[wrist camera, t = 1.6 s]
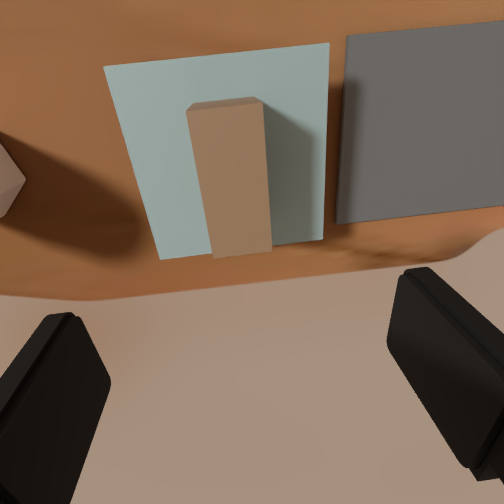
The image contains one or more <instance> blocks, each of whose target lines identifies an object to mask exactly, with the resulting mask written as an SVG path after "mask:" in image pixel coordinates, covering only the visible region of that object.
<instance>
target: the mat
mask: <svg viewBox="0 0 504 504" xmlns="http://www.w3.org/2000/svg"><path fill="white" fill-rule="evenodd" d="M500 205H504V21H495V22H484V23H473V24H463V25H452V26H442V27H431V28H421V29H410V30H399V31H389V32H378V33H368V34H357V35H349V36H347V38H346V54H345V70H344V85H343V101H342V116H341V132H340V148H339V163H338V179H337V194H336V210H335V223H336V225H338V224H346V223H355V222H364V221H372V220H381V219H389V218H398V217H406V216H415V215H423V214H432V213H440V212H449V211H458V210H466V209H475V208H483V207H492V206H500Z"/></svg>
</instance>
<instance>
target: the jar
mask: <svg viewBox="0 0 504 504" xmlns="http://www.w3.org/2000/svg"><path fill="white" fill-rule="evenodd" d="M25 181H26V178H25V176H24V175H23V174H22V172H21V171H20V170H19V168H18V167H17V165H16V164H15V163H14V161H13V160H12V159H11V157H10V156H9V154H8V153H7V152H6V150H5V149H4V147H3V146H2V145H1V143H0V218H1V217H3V216H4V215H5V214H6V213H7V211H8V209H9V208H10V206H11V204H12V203H13V201H14V199H15V198H16V196H17V194H18V193H19V191H20V189H21V188H22V186H23V184H24V183H25Z"/></svg>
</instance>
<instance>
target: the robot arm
mask: <svg viewBox="0 0 504 504" xmlns="http://www.w3.org/2000/svg"><path fill="white" fill-rule="evenodd" d="M387 346H388V349H389V351H390V353H391V355H392V356H393V358H394V359H395V361H396V362H397V364H398V366H399V367H400V369H401V370H402V372H403V374H404V375H405V377H406V378H407V380H408V382H409V383H410V385H411V386H412V388H413V390H414V391H415V393H416V394H417V396H418V398H419V399H420V401H421V402H422V404H423V405H424V407H425V409H426V410H427V412H428V413H429V415H430V417H431V418H432V420H433V421H434V423H435V424H436V426H437V428H438V429H439V431H440V433H441V434H442V436H443V437H444V439H445V441H446V442H447V444H448V445H449V447H450V448H451V450H452V452H453V453H454V455H455V456H456V458H457V459H458V461H459V462H460V463H461V465H462V466H464V467H465V468H469V469H470V471H471V472H472V474H473V475H474V477H475V478H476V480H477V481H483V480H490V479H497V478H500V480H501V481H502V482H503V484H504V334H503V333H502V332H501V331H500V330H499V329H498V328H496V327H495V326H494V325H493V324H492V323H491V322H490V321H489V320H488V319H486V318H485V317H484V316H483V315H482V314H481V313H480V312H479V311H477V310H476V309H475V308H474V307H473V306H472V305H471V304H469V303H468V302H467V301H466V300H465V299H464V298H463V297H462V296H461V295H459V294H458V293H457V292H456V291H455V290H454V289H453V288H452V287H450V286H449V285H448V284H447V283H446V282H445V281H444V280H443V279H442V278H440V277H439V276H438V275H437V274H436V273H435V272H434V271H433V270H432V269H430V268H429V267H420V268H412V269H407V270H405V271H404V274H403V275H400V277H399V279H398V283H397V288H396V294H395V299H394V304H393V309H392V314H391V319H390V324H389V329H388V335H387ZM110 386H111V380H110V376H109V374H108V372H107V370H106V368H105V366H104V364H103V362H102V360H101V358H100V356H99V354H98V352H97V350H96V348H95V346H94V344H93V342H92V340H91V338H90V335H89V333H88V332H87V330H86V328H85V325H84V324H83V321H82V320H81V318H80V317H78V316H75V315H74V314H73V313H72V312H66V313H59V314H50V315H47V316H46V317H45V318H44V319H43V320H42V322H41V323H40V325H39V326H38V327H37V329H36V330H35V331H34V333H33V334H32V335H31V337H30V338H29V340H28V341H27V342H26V344H25V345H24V347H23V348H22V349H21V350H20V352H19V353H18V355H17V356H16V357H15V359H14V360H13V362H12V363H11V364H10V366H9V367H8V368H7V370H6V371H5V372H4V374H3V375H2V376H1V378H0V504H70V502H71V499H72V497H73V494H74V491H75V488H76V485H77V482H78V479H79V477H80V474H81V471H82V468H83V465H84V462H85V459H86V457H87V454H88V451H89V448H90V445H91V442H92V440H93V437H94V434H95V431H96V428H97V425H98V422H99V419H100V416H101V414H102V411H103V408H104V405H105V402H106V400H107V397H108V394H109V391H110Z"/></svg>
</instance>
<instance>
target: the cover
mask: <svg viewBox="0 0 504 504" xmlns="http://www.w3.org/2000/svg"><path fill="white" fill-rule="evenodd" d="M329 47H330V43H321V44H312V45H302V46H293V47H283V48H274V49H264V50H255V51H245V52H236V53H226V54H217V55H207V56H198V57H188V58H179V59H169V60H160V61H150V62H141V63H131V64H122V65H112V66H103V68H104V72H105V75H106V78H107V82H108V85H109V88H110V92H111V95H112V99H113V102H114V105H115V109H116V112H117V115H118V119H119V122H120V126H121V129H122V132H123V136H124V139H125V142H126V146H127V149H128V153H129V156H130V159H131V163H132V166H133V170H134V173H135V176H136V180H137V183H138V186H139V190H140V193H141V197H142V200H143V203H144V207H145V210H146V213H147V217H148V220H149V224H150V227H151V230H152V234H153V237H154V240H155V244H156V247H157V251H158V254H159V257H160V260H162V259H170V258H178V257H186V256H194V255H202V254H210V253H212V255H213V259H214V258H222V257H230V256H238V255H246V254H254V253H262V252H270V251H272V246H274V245H282V244H289V243H297V242H305V241H313V240H321V239H323V221H324V192H325V163H326V134H327V105H328V76H329Z"/></svg>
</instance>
